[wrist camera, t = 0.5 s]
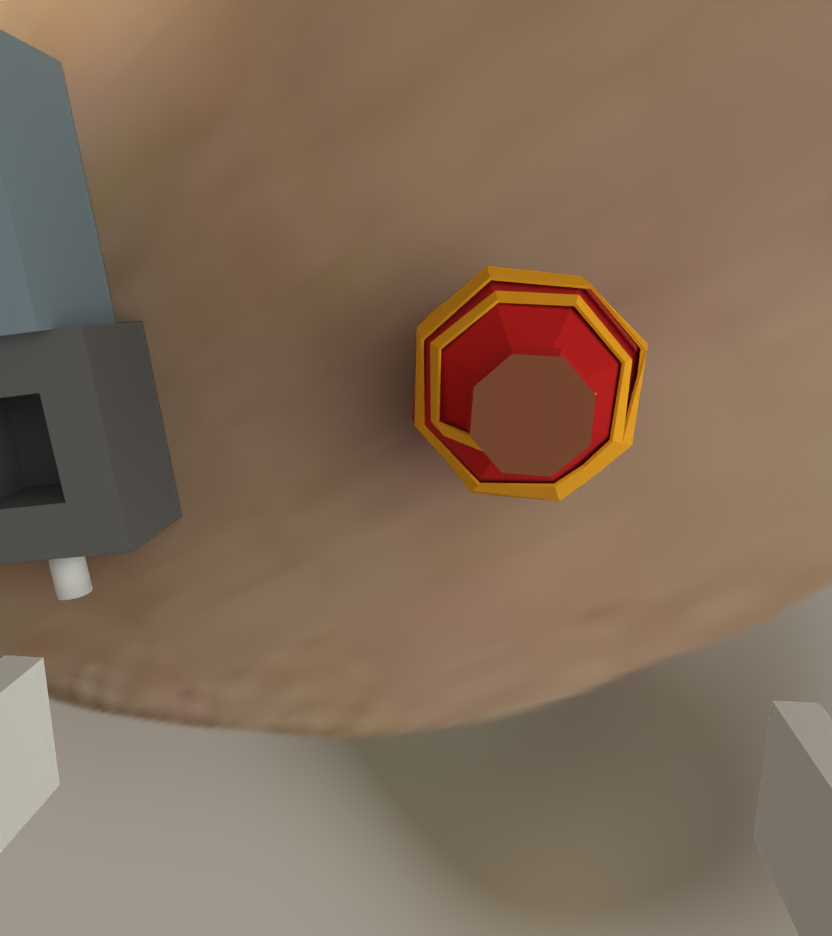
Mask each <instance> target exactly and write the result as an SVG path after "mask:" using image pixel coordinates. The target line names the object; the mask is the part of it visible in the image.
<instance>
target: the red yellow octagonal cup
mask: <svg viewBox="0 0 832 936" xmlns="http://www.w3.org/2000/svg"><path fill="white" fill-rule="evenodd" d="M647 347H648V343H647V342H646V341H645V340H644V339H643V338H642V337H641V336H640V335H639V334H638V333H637V332H636V331H635V330H634V329H633V328H632V327H631V326H630V325H629V324H628V323H627V322H626V321H625V320H624V319H623V318H622V317H621V316H620V315H619V314H618V313H617V312H616V311H615V309H614V308H613V307H612V306H611V305H610V304H609V303H608V302H607V301H606V300H605V299H604V298H603V297H602V296H601V295H600V294H599V293H598V292H597V290H596V289H595V288H594V287H593V286H592V285H591V284H590V283H589V282H588V281H587V280H586V279H585V278H584V277H583V276H577V275H568V274H558V273H549V272H540V271H531V270H522V269H513V268H504V267H494V266H486V267H485V268H484V269H483V270H481V271H480V272H479V273H478V274H477V275H476V276H475V277H473V278H472V279H471V280H470V281H469V282H468V283H467V284H465V285H464V286H463V287H462V288H461V289H460V290H459V291H458V292H456V293H455V294H454V295H453V296H452V297H451V298H450V299H448V300H447V301H445V302H444V303H443V304H441V305H440V306H438V307H437V308H436V309H434V310H433V311H432V312H431V313H430V314H429V315H428V316H427V317H426V318H425V319H424V320H423V321H422V322H421V323H420V324H419V326H418V327H417V338H416V366H415V383H414V400H413V417H412V420H413V421H414V423H415V425H414V426H415V427H416V428H417V429H418V431H419V432H420V433H421V434H422V435H423V436H424V437H425V438H426V439H427V441H428V442H429V443H430V444H431V445H432V446H433V447H434V448H435V449H436V451H437V452H438V453H439V454H440V455H441V456H442V457H443V458H444V459H445V460H446V462H447V463H448V464H449V465H450V467H451V468H452V469H453V470H454V472H455V473H456V474H457V476H458V477H459V478H460V480H461V481H462V482H463V483H464V485H465V486H466V487H467V489H468V490H469V491H470V492H471V493H480V494H490V495H501V496H511V497H522V498H532V499H543V500H553V501H560V500H562V499H563V498H564V497H566V496H567V495H569V494H570V493H571V492H573V491H574V490H575V489H577V488H578V487H580V486H581V485H582V484H584V483H585V482H587V481H588V480H589V479H591V478H592V477H593V476H595V475H596V474H597V473H598V472H600V471H601V470H602V469H603V468H605V467H606V466H607V465H608V464H609V463H611V462H612V461H613V460H614V459H616V458H617V457H618V456H619V455H620V454H622V453H623V452H624V451H625V450H627V449H628V448H629V447H630V446H631V445H632V441H633V435H634V429H635V422H636V416H637V410H638V403H639V397H640V391H641V384H642V378H643V372H644V365H645V359H646V353H647Z"/></svg>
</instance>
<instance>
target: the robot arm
mask: <svg viewBox="0 0 832 936" xmlns="http://www.w3.org/2000/svg"><path fill="white" fill-rule="evenodd" d="M58 786H59V776H58V769H57V761H56V753H55V745H54V737H53V731H52V722H51V714H50V706H49V699H48V691H47V683H46V675H45V667H44V660H43V658H41V657H24V656H7V655H5V656H3V657H2V658H1V659H0V853H1V852H2V850H3V849H4V848H5V847H6V846H7V845H8V844H9V842H10V841H11V840H12V839H13V838H14V837H15V836H16V834H17V833H18V832H19V831H20V830H21V829H22V827H23V826H24V825H25V824H26V823H27V822H28V821H29V819H30V818H31V817H32V816H33V815H34V813H36V811H37V810H38V809H39V808H40V807H41V805H42V804H43V803H44V802H45V801H46V800H47V799H48V798H49V796H50V795H51V794H52V793H53V792H54V791H55V790H56V788H57V787H58ZM753 839H754V841H755V843H756V845H757V847H758V849H759V851H760V853H761V856H762V858H763V860H764V862H765V864H766V866H767V868H768V870H769V873H770V875H771V877H772V879H773V881H774V883H775V885H776V887H777V889H778V891H779V894H780V896H781V898H782V900H783V902H784V904H785V906H786V909H787V911H788V913H789V915H790V917H791V919H792V921H793V923H794V925H795V928H796V930H797V932H798V934H799V936H832V719H831V718H830V716H829V715H828V714H827V713H826V711H825V710H824V709H823V707H822V706H821V705H820V704H819V703H804V702H788V701H772V705H771V713H770V720H769V727H768V734H767V741H766V749H765V756H764V764H763V771H762V778H761V785H760V792H759V799H758V806H757V813H756V821H755V829H754V835H753Z"/></svg>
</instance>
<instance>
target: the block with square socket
mask: <svg viewBox="0 0 832 936" xmlns="http://www.w3.org/2000/svg"><path fill="white" fill-rule="evenodd" d="M180 517H182V514H181V509H180V504H179V499H178V494H177V489H176V485H175V480H174V475H173V470H172V465H171V460H170V455H169V450H168V445H167V440H166V435H165V430H164V425H163V420H162V416H161V411H160V406H159V401H158V396H157V391H156V386H155V381H154V376H153V371H152V366H151V361H150V356H149V351H148V347H147V342H146V337H145V332H144V327H143V322H142V321H136V322H123V323H116V321H115V316H114V312H113V307H112V302H111V297H110V293H109V288H108V283H107V278H106V274H105V269H104V264H103V259H102V255H101V250H100V245H99V240H98V236H97V231H96V226H95V221H94V217H93V212H92V207H91V202H90V198H89V193H88V188H87V183H86V179H85V174H84V169H83V165H82V160H81V155H80V150H79V146H78V141H77V136H76V131H75V127H74V122H73V117H72V112H71V108H70V103H69V98H68V93H67V89H66V84H65V79H64V74H63V70H62V65H61V62H60V61H58V60H56V59H54V58H52V57H51V56H49V55H47V54H45V53H43V52H41V51H39V50H37V49H36V48H34V47H32V46H30V45H28V44H26V43H24V42H23V41H21V40H19V39H17V38H15V37H13V36H11V35H10V34H8V33H6V32H4V31H2V30H0V564H4V563H16V562H27V561H39V560H48V563H49V567H50V571H51V575H52V579H53V583H54V587H55V591H56V595H57V599H59V600H70V599H75V598H78V597H81V596H84V595H86V594H88V593H90V592H91V591H92V590H93V588H92V584H91V580H90V575H89V571H88V567H87V563H86V558H85V556H95V555H107V554H118V553H130V552H133V551H134V550H135V549H137V548H138V547H140V546H141V545H142V544H144V543H145V542H147V541H148V540H149V539H151V538H152V537H154V536H155V535H156V534H158V533H159V532H161V531H162V530H163V529H165V528H166V527H168V526H169V525H170V524H172V523H173V522H175V521H176V520H177V519H179V518H180Z"/></svg>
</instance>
